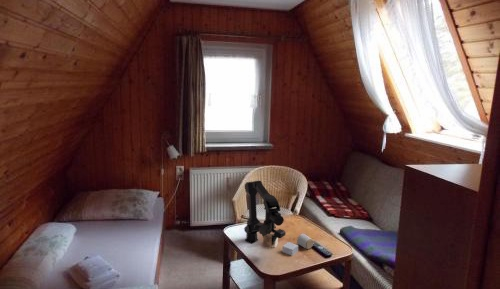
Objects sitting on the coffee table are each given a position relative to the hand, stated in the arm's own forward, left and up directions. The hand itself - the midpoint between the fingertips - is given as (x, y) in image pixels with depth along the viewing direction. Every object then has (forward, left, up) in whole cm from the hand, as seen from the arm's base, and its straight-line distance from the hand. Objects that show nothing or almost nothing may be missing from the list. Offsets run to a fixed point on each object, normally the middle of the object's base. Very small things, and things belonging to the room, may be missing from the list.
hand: (269, 243), depth 198 cm
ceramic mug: (+11, +27, -9) cm, 31 cm away
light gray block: (+7, +14, -9) cm, 18 cm away
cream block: (-6, +14, -9) cm, 18 cm away
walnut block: (0, 0, -1) cm, 1 cm away
